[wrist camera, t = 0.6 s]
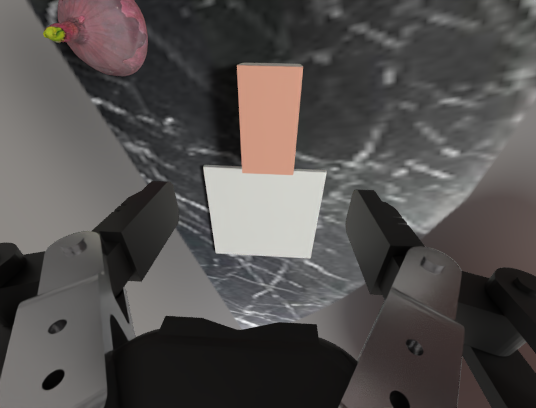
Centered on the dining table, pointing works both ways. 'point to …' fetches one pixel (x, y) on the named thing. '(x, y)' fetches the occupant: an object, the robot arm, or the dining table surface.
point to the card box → (269, 116)
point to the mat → (264, 211)
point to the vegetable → (103, 34)
